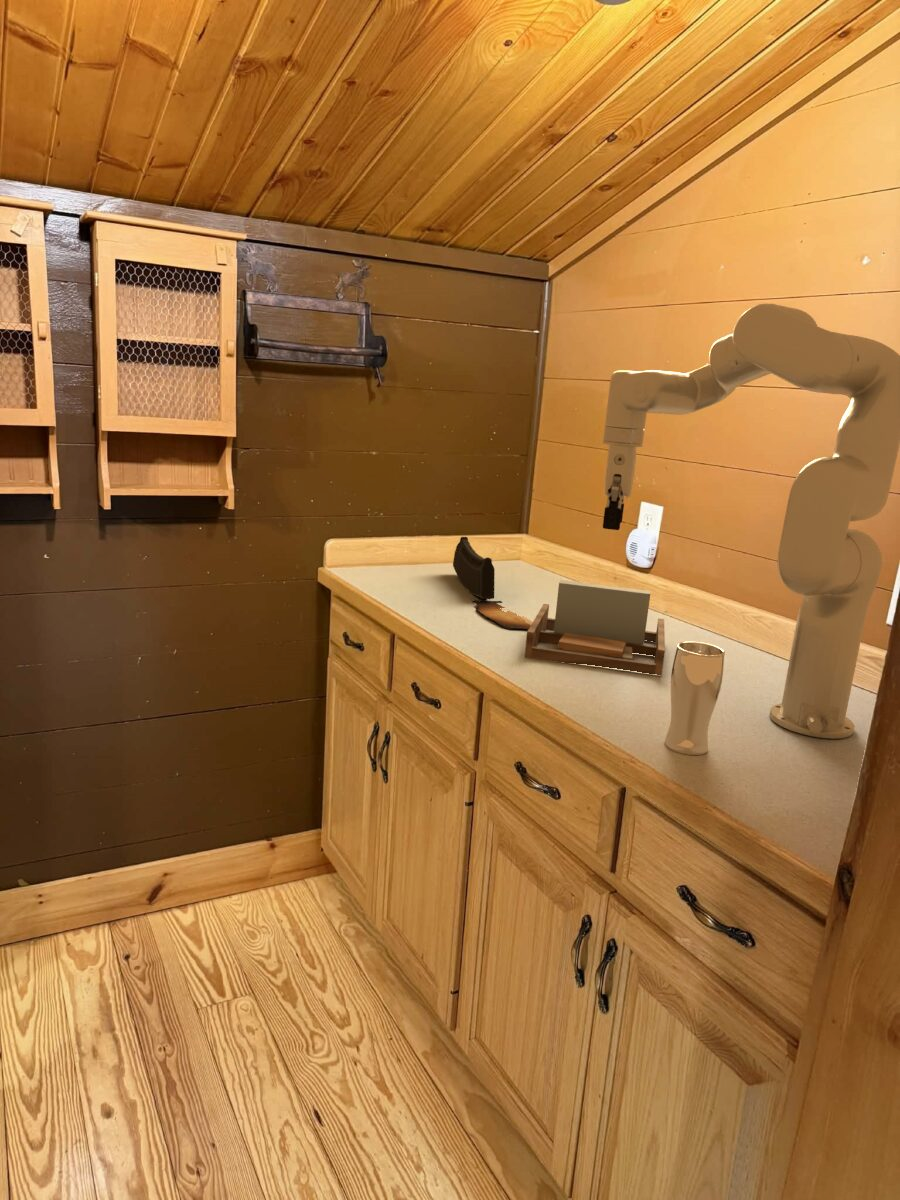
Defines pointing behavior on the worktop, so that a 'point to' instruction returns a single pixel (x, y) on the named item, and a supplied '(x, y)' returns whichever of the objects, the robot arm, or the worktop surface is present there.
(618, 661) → the rack
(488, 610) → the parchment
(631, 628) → the tall board
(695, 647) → the beer glass
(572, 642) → the offcut stack
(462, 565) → the magazine
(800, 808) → the worktop surface
